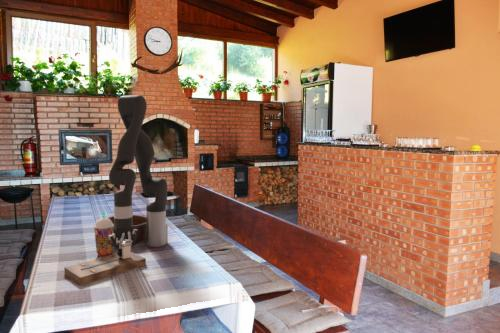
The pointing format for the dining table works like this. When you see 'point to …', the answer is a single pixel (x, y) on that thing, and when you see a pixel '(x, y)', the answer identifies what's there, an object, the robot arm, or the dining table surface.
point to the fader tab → (126, 250)
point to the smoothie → (103, 236)
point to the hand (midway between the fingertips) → (124, 255)
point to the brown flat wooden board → (103, 268)
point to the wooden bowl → (136, 227)
